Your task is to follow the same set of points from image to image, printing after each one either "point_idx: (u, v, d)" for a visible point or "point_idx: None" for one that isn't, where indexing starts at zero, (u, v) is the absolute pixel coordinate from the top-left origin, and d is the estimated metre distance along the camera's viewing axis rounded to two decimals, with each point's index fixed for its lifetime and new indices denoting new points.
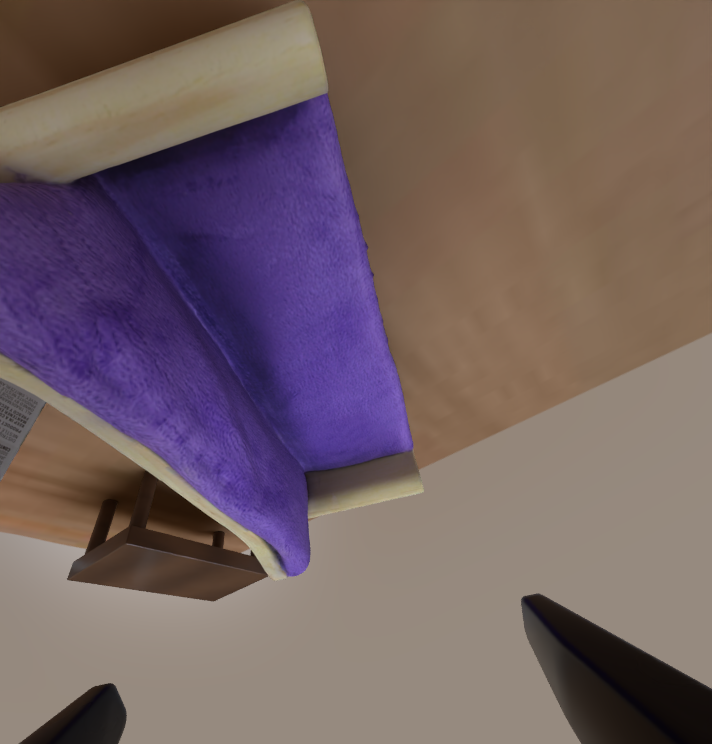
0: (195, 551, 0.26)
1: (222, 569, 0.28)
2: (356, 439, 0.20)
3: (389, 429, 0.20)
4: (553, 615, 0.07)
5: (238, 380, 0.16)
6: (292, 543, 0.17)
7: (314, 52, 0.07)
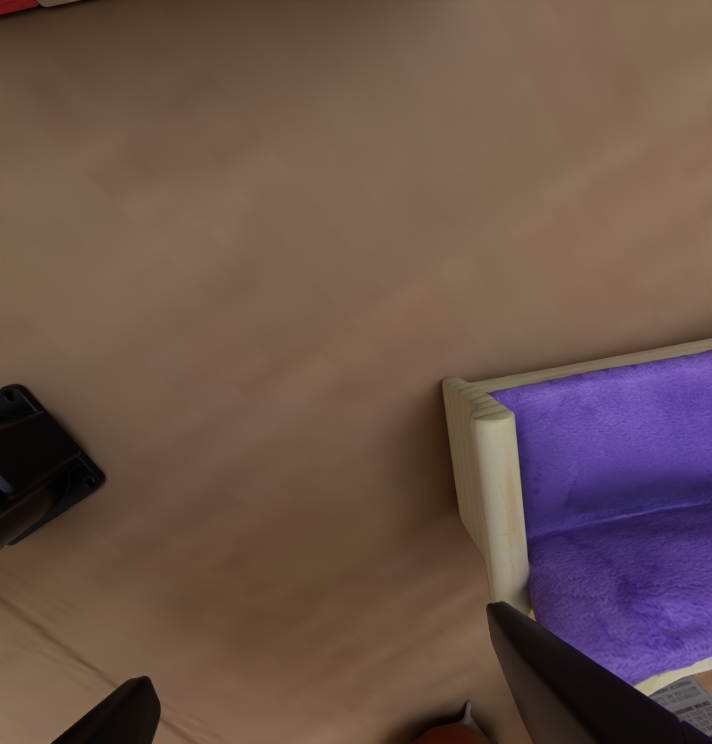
0: None
1: None
2: None
3: None
4: (513, 623, 0.07)
5: (709, 505, 0.16)
6: None
7: (499, 424, 0.13)
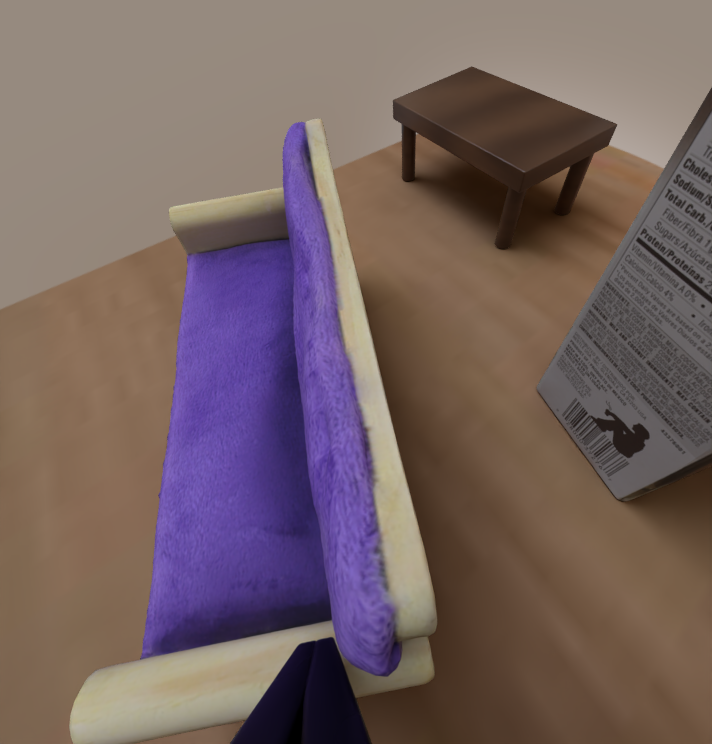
0: (461, 146, 0.22)
1: (438, 117, 0.24)
2: (235, 276, 0.19)
3: (201, 285, 0.19)
4: (320, 664, 0.07)
5: None
6: (285, 171, 0.15)
7: (75, 715, 0.08)
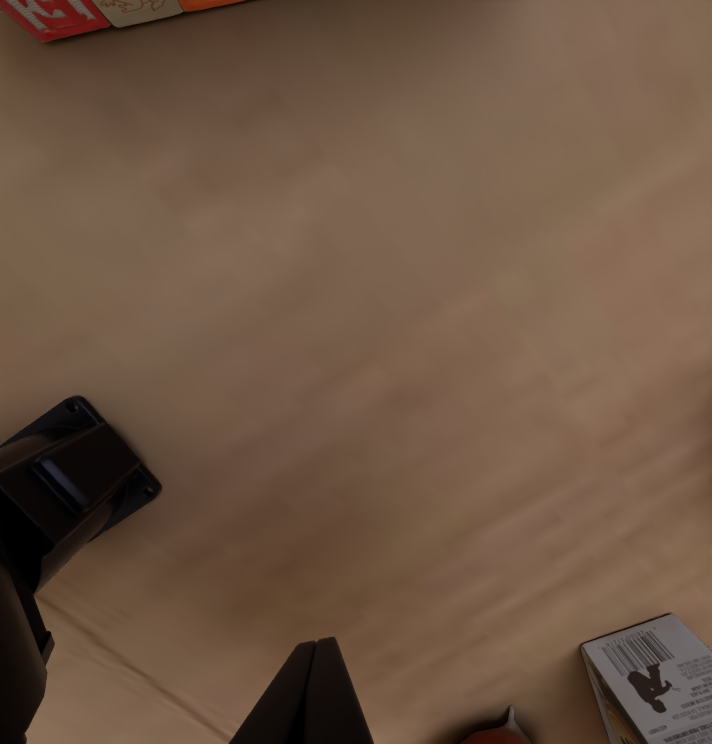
0: None
1: None
2: None
3: None
4: (322, 663, 0.07)
5: None
6: None
7: None
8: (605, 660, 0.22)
